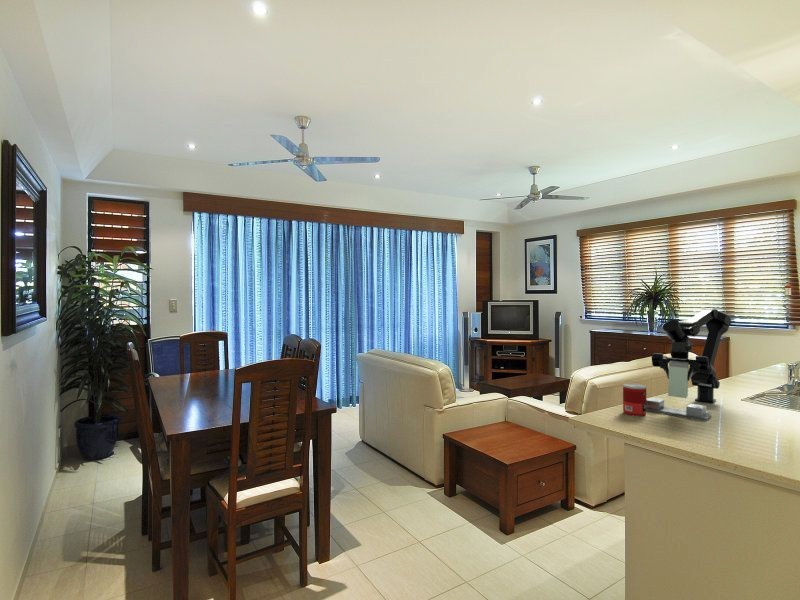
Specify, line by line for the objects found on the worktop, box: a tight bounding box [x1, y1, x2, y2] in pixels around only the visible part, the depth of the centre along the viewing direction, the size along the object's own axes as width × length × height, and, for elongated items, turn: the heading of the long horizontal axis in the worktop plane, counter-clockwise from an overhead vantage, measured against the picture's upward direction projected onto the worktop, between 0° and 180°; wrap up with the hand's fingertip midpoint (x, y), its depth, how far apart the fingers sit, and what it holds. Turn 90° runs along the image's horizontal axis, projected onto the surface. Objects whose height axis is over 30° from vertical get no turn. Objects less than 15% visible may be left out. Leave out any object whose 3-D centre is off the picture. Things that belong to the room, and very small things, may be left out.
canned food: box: [622, 382, 647, 417], centre depth 172 cm, size 8×8×11 cm
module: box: [667, 361, 690, 399], centre depth 171 cm, size 5×6×13 cm
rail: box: [646, 397, 712, 421], centre depth 172 cm, size 8×22×4 cm, turn 44°
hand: (678, 379), depth 170 cm, fingers closed on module, 6 cm apart
